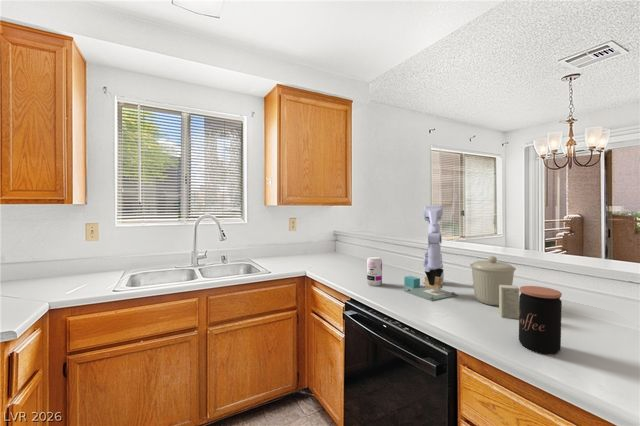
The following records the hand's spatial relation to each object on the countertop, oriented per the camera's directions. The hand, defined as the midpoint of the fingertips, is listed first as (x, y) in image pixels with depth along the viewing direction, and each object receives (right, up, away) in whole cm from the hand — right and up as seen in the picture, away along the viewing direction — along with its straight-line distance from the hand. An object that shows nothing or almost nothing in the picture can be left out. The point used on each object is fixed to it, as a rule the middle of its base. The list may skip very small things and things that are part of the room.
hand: (434, 284), depth 152 cm
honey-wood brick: (0, -2, 0) cm, 2 cm away
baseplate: (-2, -5, 0) cm, 5 cm away
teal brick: (-7, -5, +13) cm, 16 cm away
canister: (+21, -5, -14) cm, 26 cm away
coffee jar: (+11, -7, -57) cm, 59 cm away
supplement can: (-27, -5, +18) cm, 32 cm away
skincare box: (+18, -6, -31) cm, 36 cm away
